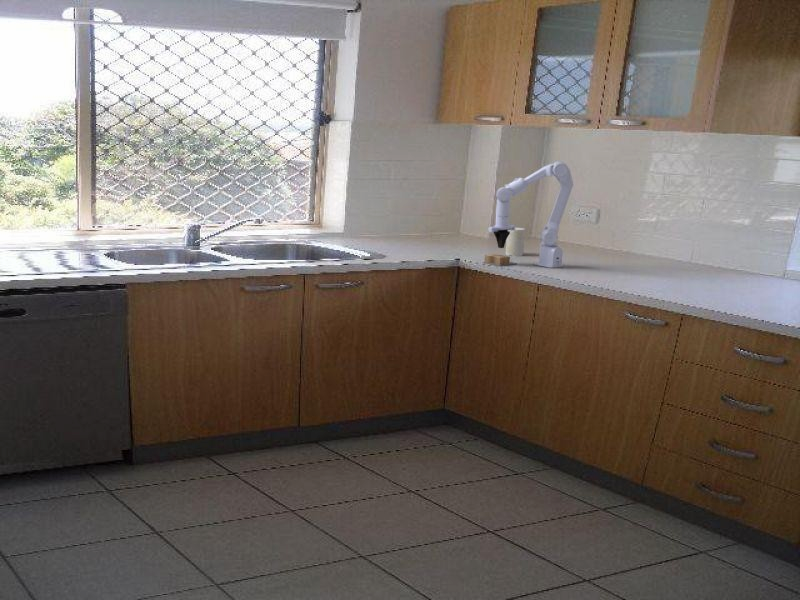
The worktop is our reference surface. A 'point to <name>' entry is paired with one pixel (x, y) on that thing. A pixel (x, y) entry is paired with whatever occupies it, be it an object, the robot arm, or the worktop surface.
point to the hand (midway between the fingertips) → (500, 247)
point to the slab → (497, 259)
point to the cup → (515, 242)
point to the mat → (498, 264)
